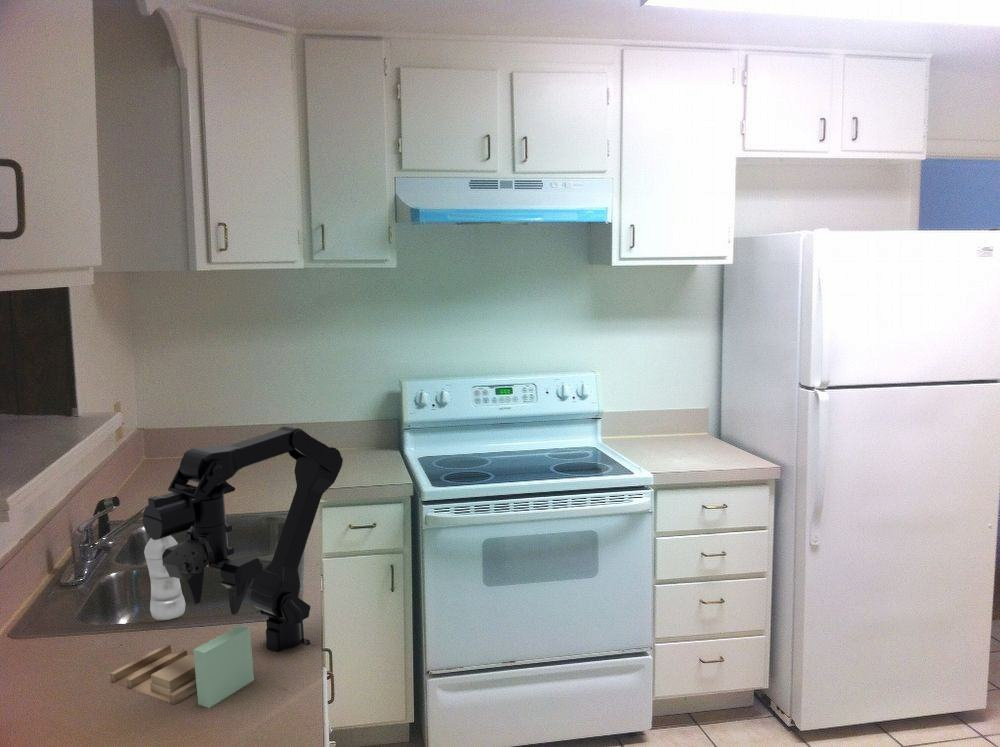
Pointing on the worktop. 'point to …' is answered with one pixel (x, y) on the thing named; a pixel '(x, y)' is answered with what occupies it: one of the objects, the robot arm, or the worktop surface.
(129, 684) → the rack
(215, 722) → the worktop surface
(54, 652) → the worktop surface
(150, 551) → the plastic bottle
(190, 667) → the offcut top
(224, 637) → the pale green square slab
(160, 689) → the block
